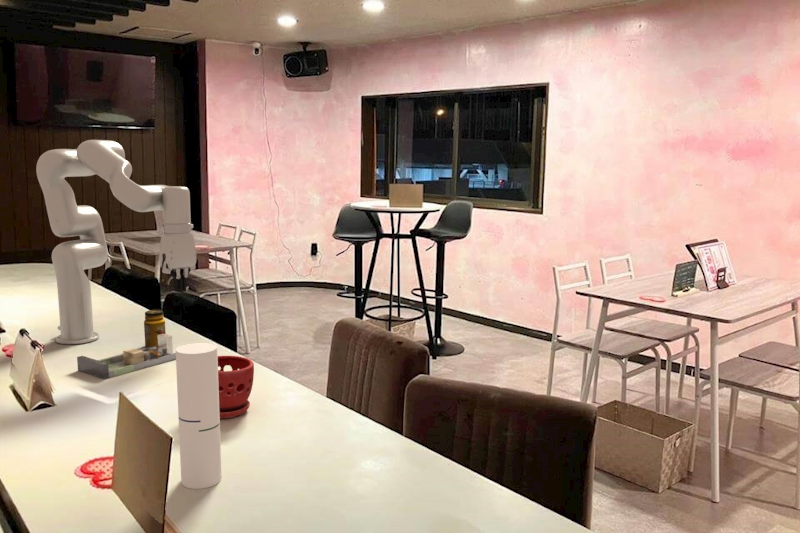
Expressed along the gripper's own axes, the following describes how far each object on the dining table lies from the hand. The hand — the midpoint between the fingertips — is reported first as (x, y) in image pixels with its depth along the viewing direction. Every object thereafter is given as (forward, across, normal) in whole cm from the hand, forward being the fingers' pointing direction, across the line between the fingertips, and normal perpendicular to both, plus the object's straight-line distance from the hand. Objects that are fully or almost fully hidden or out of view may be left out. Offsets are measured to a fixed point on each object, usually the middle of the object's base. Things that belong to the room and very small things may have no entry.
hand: (180, 291), depth 207 cm
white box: (+18, +10, +1) cm, 20 cm away
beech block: (+18, +16, 0) cm, 24 cm away
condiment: (+19, +2, -11) cm, 22 cm away
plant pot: (+19, +24, +47) cm, 56 cm away
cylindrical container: (+19, +50, +70) cm, 88 cm away
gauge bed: (+19, +18, 0) cm, 26 cm away
